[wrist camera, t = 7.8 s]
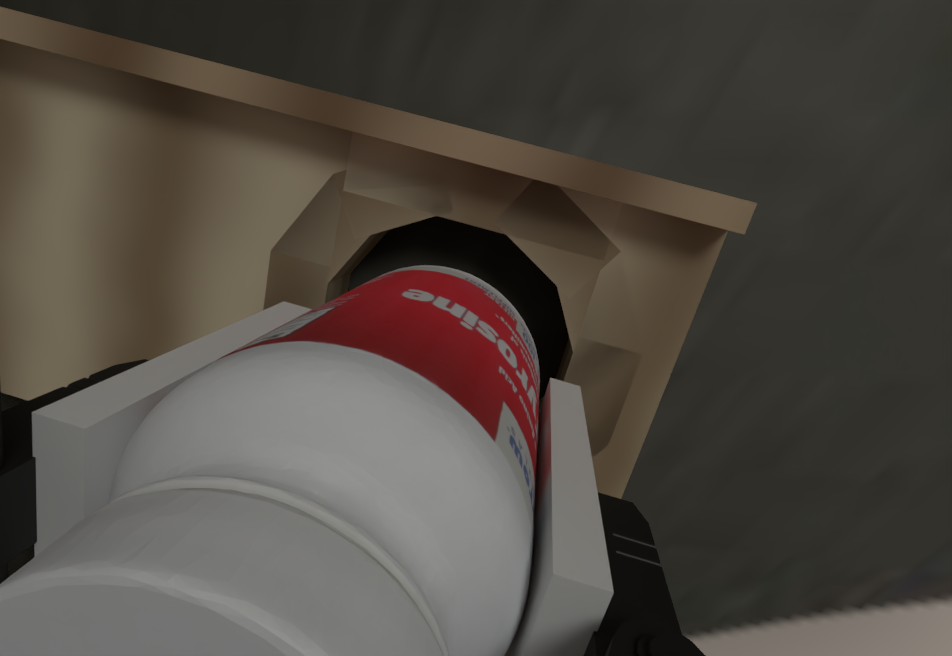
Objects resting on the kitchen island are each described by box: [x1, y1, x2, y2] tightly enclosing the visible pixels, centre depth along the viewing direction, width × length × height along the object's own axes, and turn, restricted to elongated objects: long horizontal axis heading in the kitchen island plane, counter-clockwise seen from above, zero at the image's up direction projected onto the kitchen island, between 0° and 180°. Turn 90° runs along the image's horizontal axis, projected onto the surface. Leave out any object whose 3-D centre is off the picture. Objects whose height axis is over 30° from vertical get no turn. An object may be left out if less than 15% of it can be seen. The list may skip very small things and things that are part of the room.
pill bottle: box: [0, 265, 540, 656], centre depth 10 cm, size 6×6×11 cm
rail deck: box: [0, 7, 757, 499], centre depth 17 cm, size 24×13×3 cm, turn 76°
